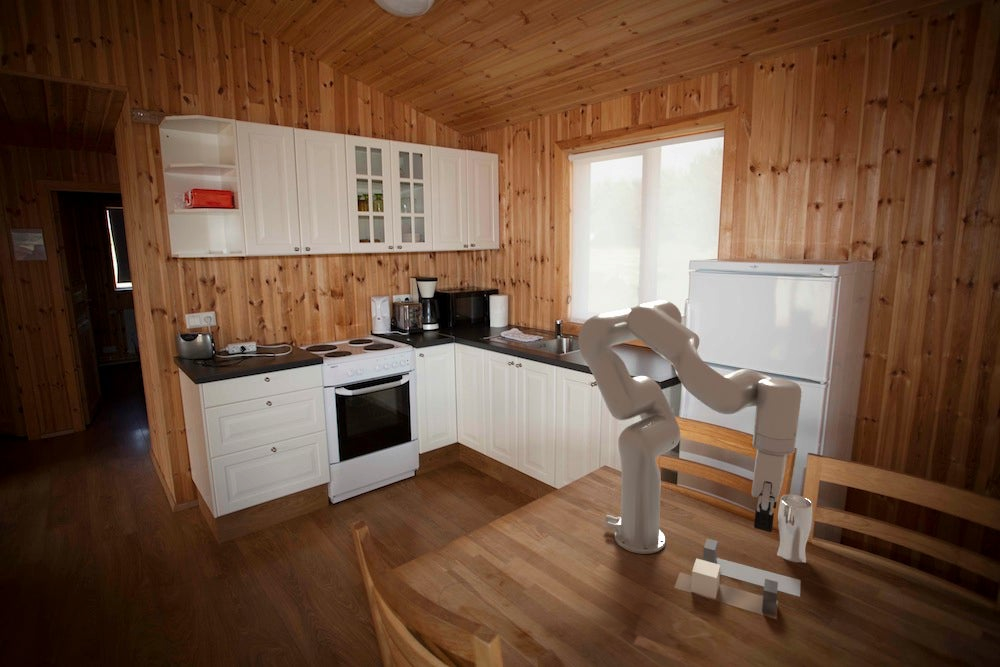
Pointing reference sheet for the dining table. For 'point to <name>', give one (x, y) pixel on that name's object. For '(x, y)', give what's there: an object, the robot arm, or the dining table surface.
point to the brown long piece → (740, 596)
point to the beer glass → (794, 527)
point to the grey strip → (749, 571)
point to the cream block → (705, 578)
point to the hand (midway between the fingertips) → (765, 517)
